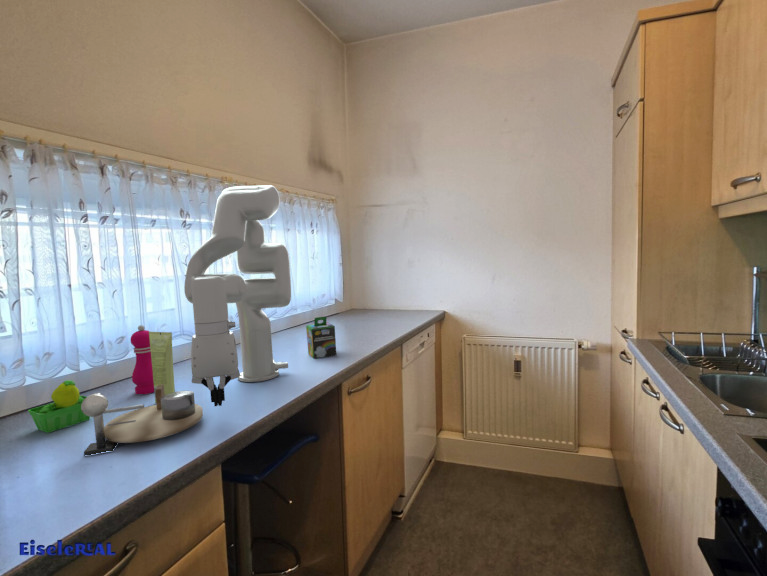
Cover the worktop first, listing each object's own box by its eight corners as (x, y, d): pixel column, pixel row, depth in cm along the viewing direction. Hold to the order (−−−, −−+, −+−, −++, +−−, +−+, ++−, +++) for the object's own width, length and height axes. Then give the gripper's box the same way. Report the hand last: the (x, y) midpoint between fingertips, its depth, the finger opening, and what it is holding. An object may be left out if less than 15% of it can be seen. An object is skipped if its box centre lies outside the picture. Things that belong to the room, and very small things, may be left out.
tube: (178, 397, 120) (171, 328, 118) (178, 402, 115) (171, 331, 113) (155, 400, 117) (148, 331, 116) (154, 406, 113) (147, 334, 111)
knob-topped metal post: (149, 438, 93) (144, 384, 91) (145, 446, 89) (140, 389, 88) (91, 448, 89) (84, 391, 88) (84, 456, 85) (77, 397, 84)
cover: (196, 407, 103) (195, 388, 103) (193, 417, 97) (192, 397, 96) (165, 411, 101) (163, 393, 101) (159, 422, 94) (157, 402, 94)
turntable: (206, 402, 110) (204, 378, 109) (198, 432, 91) (196, 404, 90) (118, 414, 104) (115, 390, 103) (90, 450, 85) (87, 420, 84)
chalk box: (330, 350, 168) (328, 313, 166) (337, 355, 159) (335, 316, 158) (307, 354, 164) (304, 316, 163) (313, 359, 156) (310, 319, 154)
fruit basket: (82, 413, 110) (77, 371, 109) (100, 419, 105) (95, 375, 104) (29, 430, 100) (23, 384, 99) (46, 437, 96) (40, 389, 95)
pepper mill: (148, 395, 122) (142, 327, 120) (127, 395, 123) (120, 327, 122) (166, 387, 129) (160, 322, 127) (146, 387, 130) (139, 323, 129)
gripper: (245, 323, 106) (250, 394, 107) (179, 329, 101) (186, 404, 102) (245, 327, 99) (251, 404, 100) (175, 334, 94) (182, 414, 95)
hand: (218, 404), depth 101 cm, fingers closed
